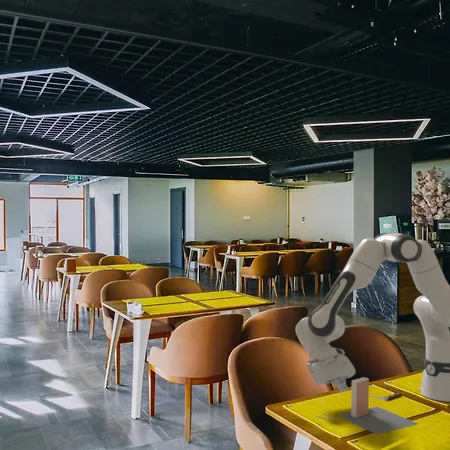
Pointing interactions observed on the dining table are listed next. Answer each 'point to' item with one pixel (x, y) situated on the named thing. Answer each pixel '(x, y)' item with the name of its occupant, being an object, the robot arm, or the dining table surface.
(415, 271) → the robot arm
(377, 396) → the kitchen cleaver
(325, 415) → the tweezers
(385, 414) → the mat
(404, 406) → the dining table surface
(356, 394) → the tile
